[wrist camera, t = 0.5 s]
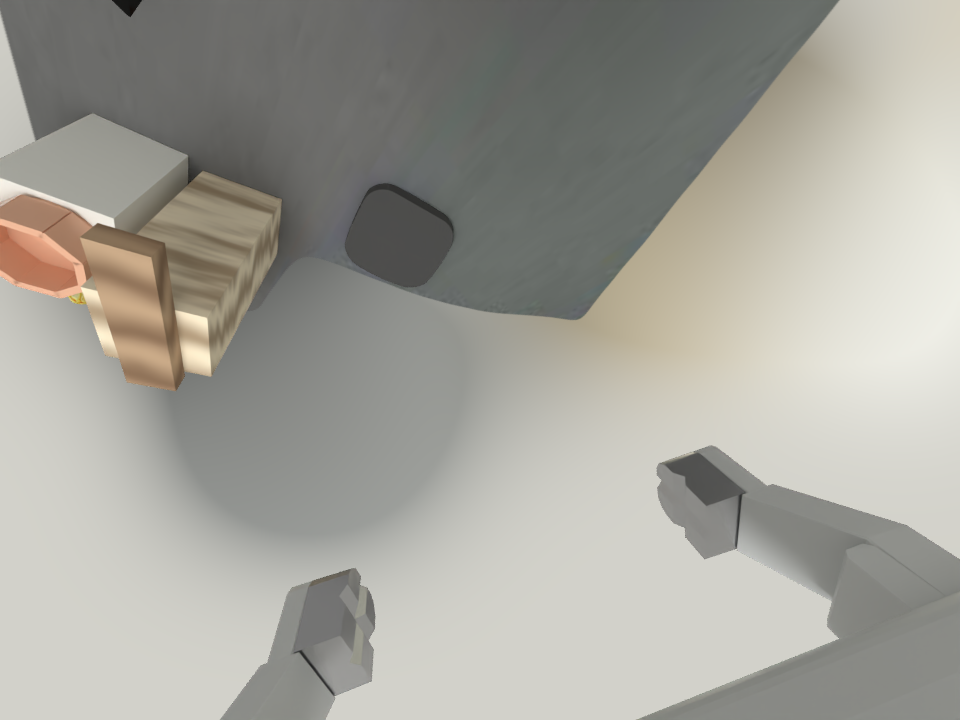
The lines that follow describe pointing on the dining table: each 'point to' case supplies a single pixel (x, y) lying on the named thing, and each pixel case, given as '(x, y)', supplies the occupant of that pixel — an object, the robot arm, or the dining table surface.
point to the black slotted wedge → (127, 5)
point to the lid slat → (137, 304)
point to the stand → (208, 264)
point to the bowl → (42, 246)
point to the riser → (97, 173)
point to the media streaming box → (398, 236)
